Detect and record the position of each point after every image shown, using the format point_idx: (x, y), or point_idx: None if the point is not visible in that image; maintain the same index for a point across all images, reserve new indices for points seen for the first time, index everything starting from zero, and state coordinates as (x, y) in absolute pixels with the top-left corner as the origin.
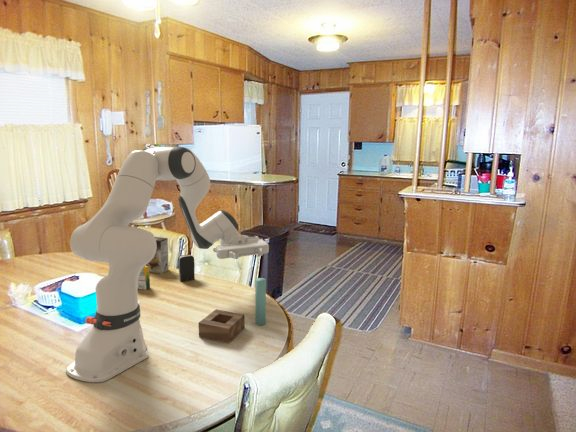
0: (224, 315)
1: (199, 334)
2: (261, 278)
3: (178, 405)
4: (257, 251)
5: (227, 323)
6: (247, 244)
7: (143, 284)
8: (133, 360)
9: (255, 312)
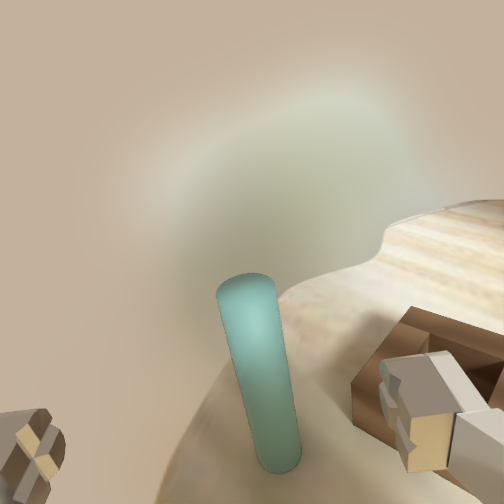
0: None
1: None
2: (233, 301)
3: (474, 218)
4: (8, 485)
5: (420, 332)
6: None
7: None
8: None
9: (296, 418)
